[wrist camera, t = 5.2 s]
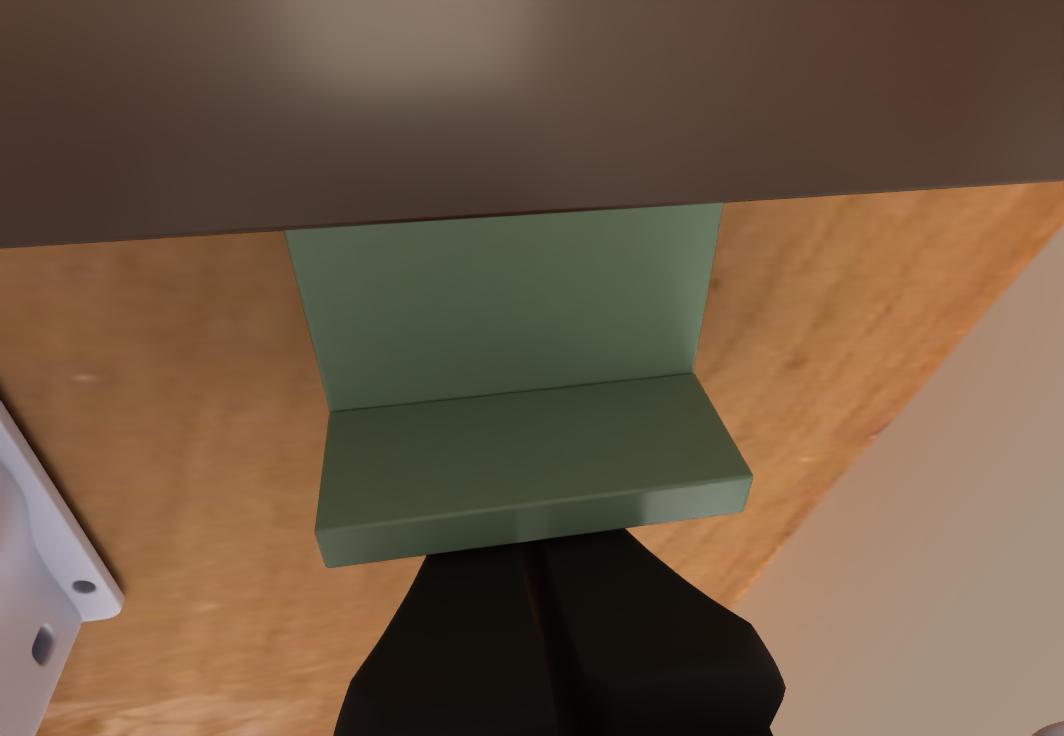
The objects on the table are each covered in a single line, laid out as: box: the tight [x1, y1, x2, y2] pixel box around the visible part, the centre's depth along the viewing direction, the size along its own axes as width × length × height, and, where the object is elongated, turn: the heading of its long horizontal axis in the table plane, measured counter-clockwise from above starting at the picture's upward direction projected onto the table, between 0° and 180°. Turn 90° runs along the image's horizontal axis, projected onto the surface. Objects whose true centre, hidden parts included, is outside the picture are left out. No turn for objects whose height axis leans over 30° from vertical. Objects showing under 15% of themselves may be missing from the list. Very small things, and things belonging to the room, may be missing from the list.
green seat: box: [284, 203, 753, 568], centre depth 10 cm, size 7×6×6 cm
